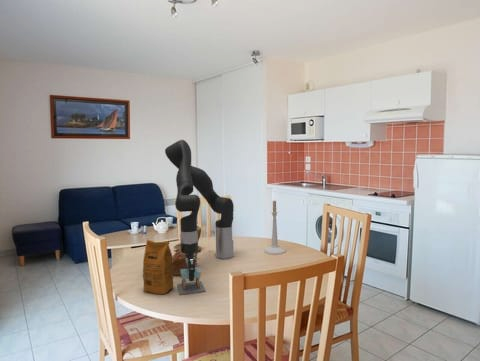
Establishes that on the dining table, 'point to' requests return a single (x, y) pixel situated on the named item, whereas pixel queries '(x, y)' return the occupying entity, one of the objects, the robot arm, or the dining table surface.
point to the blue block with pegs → (186, 276)
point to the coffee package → (157, 267)
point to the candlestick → (274, 236)
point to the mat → (190, 288)
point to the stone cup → (198, 240)
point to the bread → (180, 262)
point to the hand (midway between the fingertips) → (190, 277)
